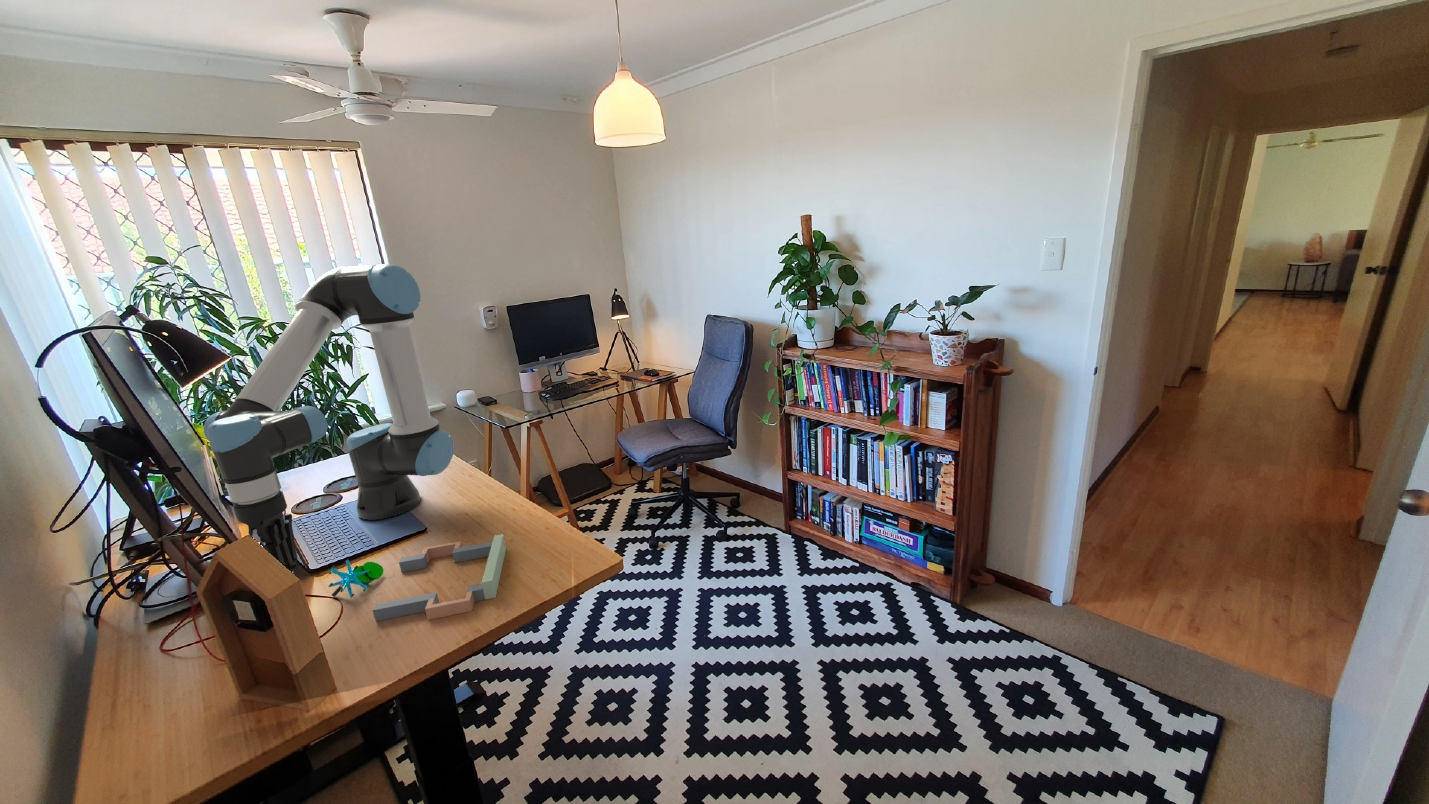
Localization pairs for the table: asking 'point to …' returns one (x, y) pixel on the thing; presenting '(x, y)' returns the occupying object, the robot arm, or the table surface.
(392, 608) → the wall
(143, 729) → the table surface
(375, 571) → the stick construction toy
